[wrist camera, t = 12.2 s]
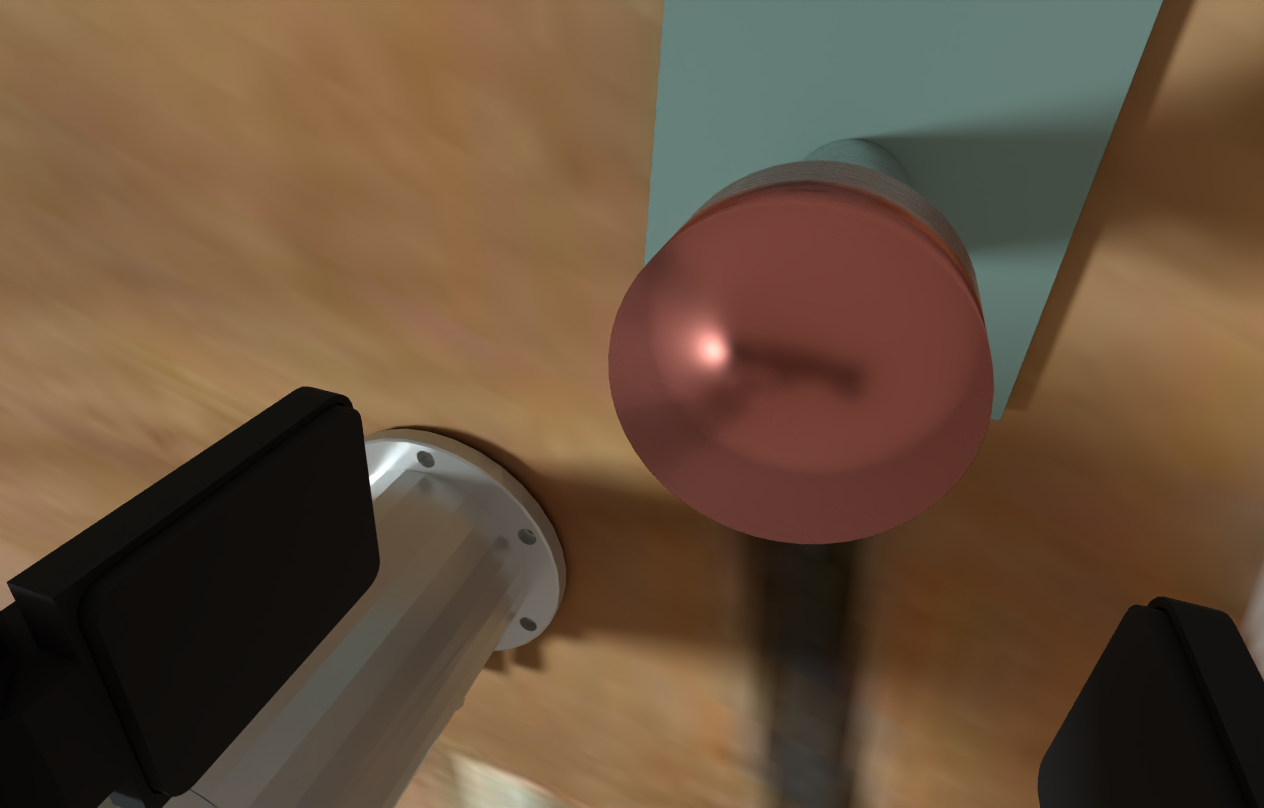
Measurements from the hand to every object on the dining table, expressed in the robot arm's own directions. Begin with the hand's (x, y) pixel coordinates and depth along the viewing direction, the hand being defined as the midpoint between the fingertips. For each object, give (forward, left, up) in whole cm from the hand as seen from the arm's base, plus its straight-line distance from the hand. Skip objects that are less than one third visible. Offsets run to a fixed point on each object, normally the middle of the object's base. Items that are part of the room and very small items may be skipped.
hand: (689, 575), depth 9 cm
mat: (+1, 0, -17) cm, 17 cm away
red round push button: (0, 0, -16) cm, 16 cm away
